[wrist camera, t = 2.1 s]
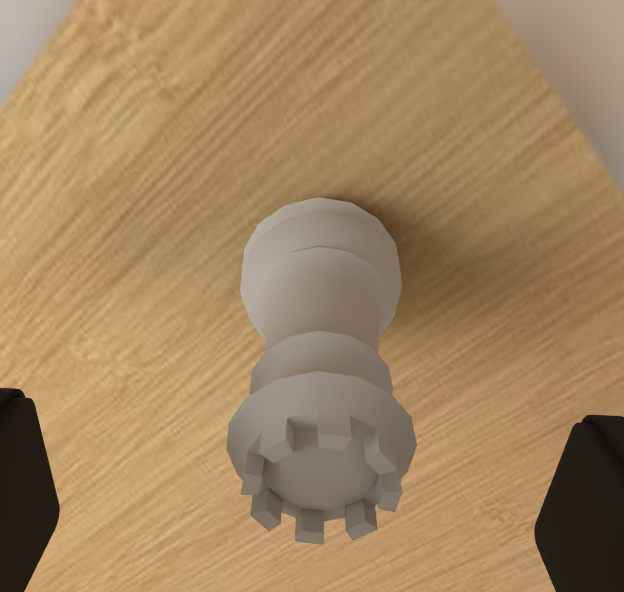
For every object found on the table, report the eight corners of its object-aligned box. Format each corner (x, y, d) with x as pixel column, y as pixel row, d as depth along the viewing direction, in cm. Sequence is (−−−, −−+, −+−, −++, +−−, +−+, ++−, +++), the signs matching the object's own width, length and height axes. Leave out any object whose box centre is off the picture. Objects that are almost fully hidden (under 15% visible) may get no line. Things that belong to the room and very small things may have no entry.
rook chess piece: (362, 348, 17) (392, 601, 10) (225, 305, 16) (152, 545, 9) (425, 222, 15) (521, 431, 8) (270, 167, 14) (220, 341, 7)
